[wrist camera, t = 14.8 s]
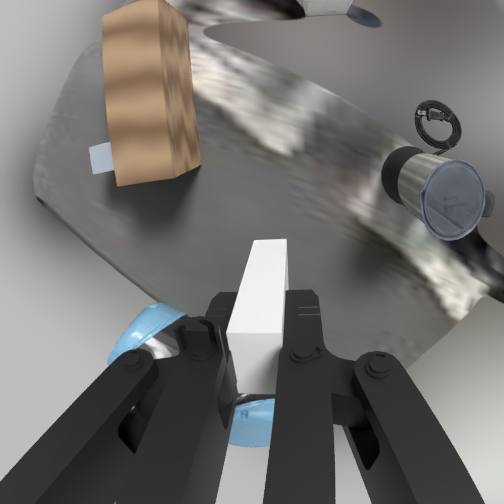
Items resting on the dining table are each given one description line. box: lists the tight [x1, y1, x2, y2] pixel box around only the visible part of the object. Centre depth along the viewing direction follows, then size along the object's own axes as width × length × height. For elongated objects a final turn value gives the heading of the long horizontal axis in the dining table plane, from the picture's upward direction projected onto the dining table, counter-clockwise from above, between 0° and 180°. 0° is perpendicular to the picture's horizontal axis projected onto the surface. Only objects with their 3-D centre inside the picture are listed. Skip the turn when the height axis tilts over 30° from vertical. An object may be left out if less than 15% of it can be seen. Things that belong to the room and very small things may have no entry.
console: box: [102, 0, 202, 187], centre depth 32 cm, size 24×8×11 cm, turn 5°
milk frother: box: [382, 100, 495, 240], centre depth 29 cm, size 14×16×15 cm
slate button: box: [89, 142, 114, 174], centre depth 36 cm, size 4×9×4 cm, turn 95°
